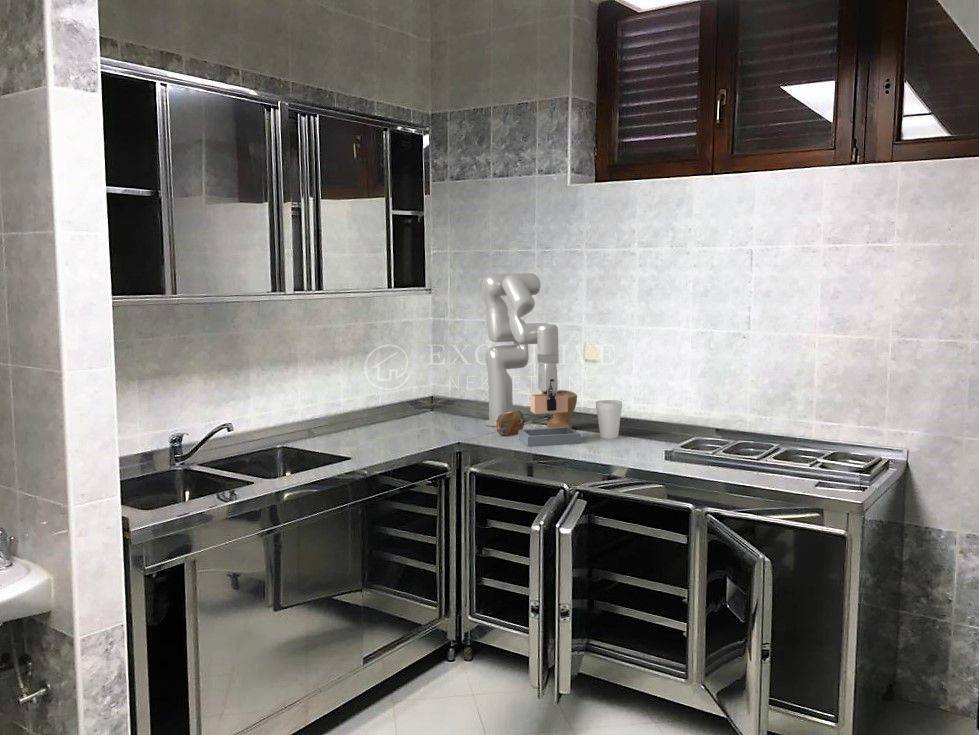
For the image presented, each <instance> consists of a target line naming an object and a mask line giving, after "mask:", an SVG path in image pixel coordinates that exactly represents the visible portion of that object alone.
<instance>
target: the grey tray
mask: <svg viewBox="0 0 979 735" xmlns="http://www.w3.org/2000/svg"><path fill="white" fill-rule="evenodd" d="M517 434H518V435H517V436H518V441H520V442H521V443H523V444H524V445H526V447H531V448H532V447H545V446H547V447H549V446H560V445H562V446H563V445H574V444H575V445H578V444H581V443H582V434H581V433H580V432H579V431H578V430H575V429H573V428H572V427H571V428H570V427H559V428H547V427H546V428H545V427H542V428H530V429H529V428H527V429H524V428H523V429H522V430H518V433H517Z"/></svg>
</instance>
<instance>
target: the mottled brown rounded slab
mask: <svg viewBox="0 0 979 735" xmlns="http://www.w3.org/2000/svg"><path fill="white" fill-rule="evenodd" d="M496 426H497V427H496ZM496 426H495V427H496V431H497V433H498V434H499V435H501V436H506V437H508V436H509V437H510V436H512V435H514V434H518V430H524V426H525V417H524V414H523V413H522V412H521V411H519V410H513V411H511V412H507V413H504V414H500V415H499V416H498V418H497V421H496Z"/></svg>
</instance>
